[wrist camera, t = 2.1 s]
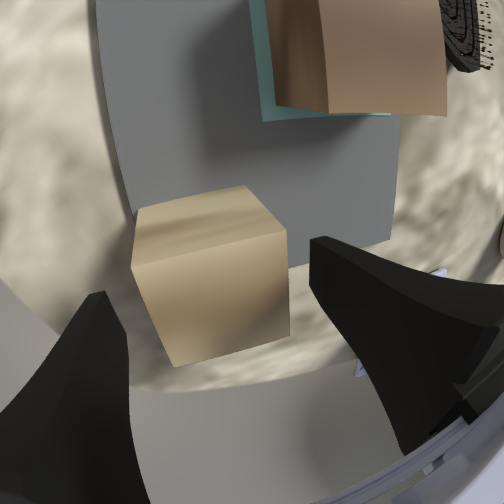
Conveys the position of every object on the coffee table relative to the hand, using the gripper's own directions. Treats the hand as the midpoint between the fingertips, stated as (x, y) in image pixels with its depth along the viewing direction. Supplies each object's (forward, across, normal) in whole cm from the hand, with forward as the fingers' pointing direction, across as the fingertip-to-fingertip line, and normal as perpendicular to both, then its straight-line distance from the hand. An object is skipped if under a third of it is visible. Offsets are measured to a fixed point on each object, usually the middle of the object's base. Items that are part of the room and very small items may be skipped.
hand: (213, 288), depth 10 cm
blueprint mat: (+4, -4, -5) cm, 7 cm away
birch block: (+3, 0, 0) cm, 3 cm away
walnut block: (+3, -7, -8) cm, 11 cm away
